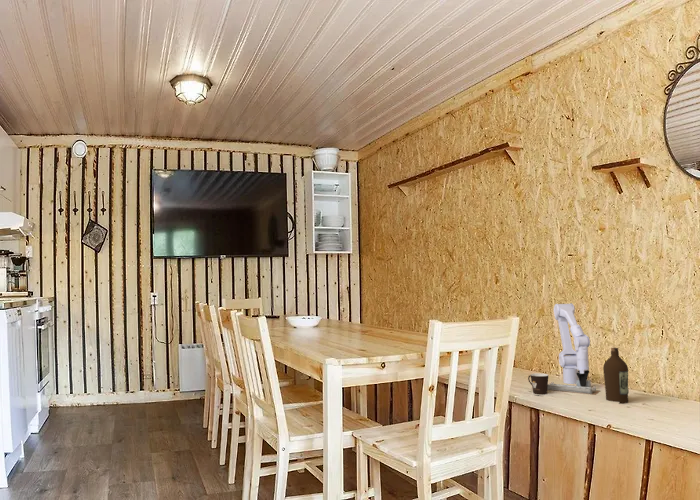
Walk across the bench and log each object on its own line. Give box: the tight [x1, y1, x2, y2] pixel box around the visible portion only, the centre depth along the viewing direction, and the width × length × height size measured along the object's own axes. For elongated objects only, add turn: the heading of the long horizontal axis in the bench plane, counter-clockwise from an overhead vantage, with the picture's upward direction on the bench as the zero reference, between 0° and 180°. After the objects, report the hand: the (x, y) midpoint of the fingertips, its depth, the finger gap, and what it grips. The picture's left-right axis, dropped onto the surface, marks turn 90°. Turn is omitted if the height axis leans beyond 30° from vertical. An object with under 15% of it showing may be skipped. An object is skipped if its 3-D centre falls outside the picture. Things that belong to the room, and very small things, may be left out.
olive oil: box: [602, 347, 629, 404], centre depth 265 cm, size 11×11×25 cm
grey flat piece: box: [547, 381, 597, 395], centre depth 288 cm, size 9×22×2 cm, turn 53°
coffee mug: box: [527, 372, 549, 397], centre depth 284 cm, size 12×9×10 cm
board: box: [549, 390, 601, 396], centre depth 288 cm, size 11×26×1 cm, turn 53°
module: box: [576, 379, 592, 387], centre depth 292 cm, size 4×6×6 cm, turn 53°
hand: (583, 385), depth 292 cm, fingers open, 7 cm apart
